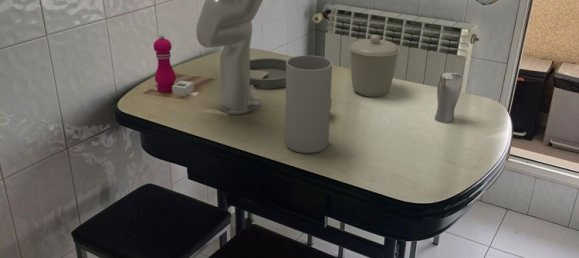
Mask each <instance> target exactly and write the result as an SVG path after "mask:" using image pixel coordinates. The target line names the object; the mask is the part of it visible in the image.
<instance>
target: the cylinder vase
mask: <svg viewBox="0 0 579 258" xmlns="http://www.w3.org/2000/svg"><path fill="white" fill-rule="evenodd" d="M286 60H287V61H286V86H285V128H284V129H285V136H284V137H285V140H284V141H285V143H284V144H285V145H286V146H287V147H288V149H289V150H292V151H293V152H296V153H301V154H315V153H319V152H322V151H323V150H325V149H326V148H327V147H328V144H329V139H330V137H329V134H330V117H331V116H330V114H331V112H330V111H331V110H330V98H331V99H332V95H331V93H332V77H333V75H332V74H333V72H332V71H333V62H332V60H330V59H329V58H326V57H324V56H319V55H297V56H293V57H291V58H290V57H289V58H288V59H286Z"/></svg>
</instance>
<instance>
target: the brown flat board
mask: <svg viewBox="0 0 579 258" xmlns="http://www.w3.org/2000/svg"><path fill="white" fill-rule="evenodd" d="M175 75H176V80H175V82H174V84H176V83H178V82H180V81H187V82H193V83H194V91H193V92H191V93H190V94H188V95H186V96H180V95H174V94H173V93H172V92H169V93H161V92H159V91H158V90H157V85H158V83H156V84H155V85H154V86H152V87H151V88H149V89H147V90H146V91H144V92H142V94H144V95H149V96H156V97H162V98H163V97H164V98H171V99H177V100H184V101H190V100H192V99H193V98H195V97H197V95H198V94H199V93H201V92H203V90H205V89H206V88H207V87H208V86H210V85H211V84H213V83H214V82H216V80H218V78H213V77H205V76H197V75H191V74H181V73H175Z"/></svg>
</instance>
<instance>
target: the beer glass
mask: <svg viewBox="0 0 579 258" xmlns="http://www.w3.org/2000/svg"><path fill="white" fill-rule="evenodd" d="M462 77H463V76H462V75H461V74H459V73H456V72H450V71H448V72H441V73H440V75H439V79H438V82H437V83H438V84H437V92H436V93H437V94H436V95H437V96H436V97H437V98H436V99H437V109H436V113H435V116H434V119H435V121H436V122H439V123H443V124H451V123H453V122H454V121H455V109H456V106H457V103H458V100H459V99H460V94H461V88H462V80H463V78H462Z"/></svg>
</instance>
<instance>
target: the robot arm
mask: <svg viewBox="0 0 579 258" xmlns="http://www.w3.org/2000/svg"><path fill="white" fill-rule="evenodd" d="M263 1H264V0H204V2H203V6H202V9H201V12H200V14H199V17H198V21H197V24H196V30H195V31H196V39H197V41H198V43H199V44H200V45H201V46H202V47H203V48H207V49H208V48H210V49H211V48H221V47H223V48H222V51H221V53H220V56H219V57H220V58H219V61H220V63H219V64H220V65H219V66H220V68H219V69H220V85H221V88H220V89H221V91H220V92H221V105H222V107H224V108H226V109H227V110H221V109H219V111H220V112H221V113H223V114H229V115H242V114H243V115H245V114H248V113H250V112H252V111H253V110H255V108H262V106H263V105H262V104H263V103H262V100H261V98H255V97H254V93H251V83H250V77H251V70H250V60H251V58H250V57H251V56H250V55H251V53H250V51H251V40H252V35H253V23H252V20H254V19H255V17H256V15H257V13H258V12H259V10H260V7H261V5H262V3H263Z"/></svg>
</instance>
